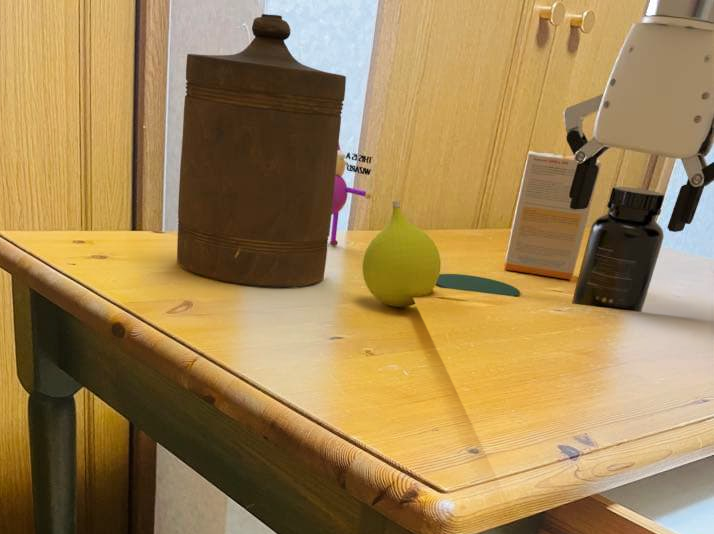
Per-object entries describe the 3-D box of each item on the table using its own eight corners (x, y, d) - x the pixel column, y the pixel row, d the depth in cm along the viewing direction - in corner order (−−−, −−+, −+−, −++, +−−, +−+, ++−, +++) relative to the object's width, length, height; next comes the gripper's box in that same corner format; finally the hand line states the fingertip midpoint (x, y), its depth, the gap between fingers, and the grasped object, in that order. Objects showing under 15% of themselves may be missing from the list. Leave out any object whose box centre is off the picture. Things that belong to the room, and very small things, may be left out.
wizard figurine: (369, 253, 100) (386, 143, 94) (353, 255, 98) (369, 142, 92) (298, 234, 106) (310, 128, 100) (282, 235, 104) (292, 127, 98)
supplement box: (569, 274, 104) (600, 159, 98) (571, 281, 100) (603, 162, 94) (503, 263, 105) (528, 148, 99) (502, 269, 101) (528, 151, 95)
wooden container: (273, 251, 94) (295, 22, 83) (352, 286, 84) (388, 29, 73) (151, 253, 86) (157, -1, 75) (221, 290, 76) (241, 3, 65)
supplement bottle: (575, 303, 89) (608, 182, 83) (641, 317, 87) (680, 194, 81) (563, 315, 84) (597, 186, 78) (633, 330, 81) (673, 199, 76)
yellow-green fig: (363, 291, 82) (379, 182, 77) (434, 303, 81) (455, 193, 77) (352, 307, 76) (369, 189, 71) (429, 320, 75) (452, 202, 70)
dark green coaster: (509, 282, 95) (509, 280, 95) (528, 302, 87) (529, 300, 87) (425, 271, 95) (425, 269, 95) (437, 291, 86) (437, 289, 86)
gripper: (804, 28, 71) (726, 237, 79) (609, 8, 79) (557, 200, 88) (787, 15, 66) (705, 242, 74) (579, -5, 74) (527, 201, 82)
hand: (625, 219), depth 81 cm, fingers open, 9 cm apart
